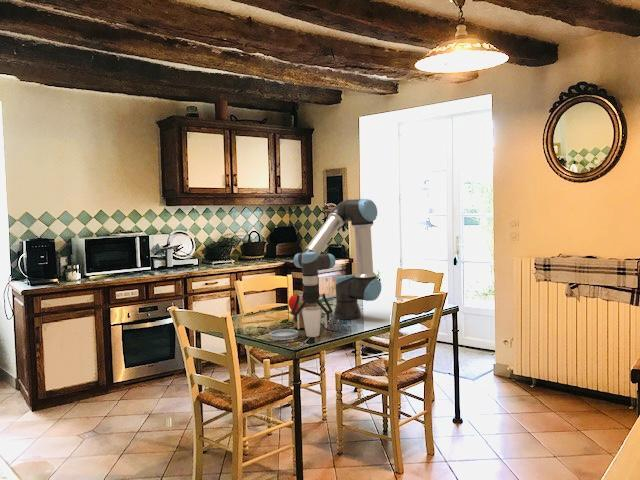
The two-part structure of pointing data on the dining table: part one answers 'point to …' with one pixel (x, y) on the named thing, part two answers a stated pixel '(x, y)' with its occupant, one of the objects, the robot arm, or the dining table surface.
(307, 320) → the foam cup
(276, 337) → the saucer
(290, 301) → the tomato
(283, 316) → the dining table surface
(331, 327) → the dining table surface
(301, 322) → the stone cup
